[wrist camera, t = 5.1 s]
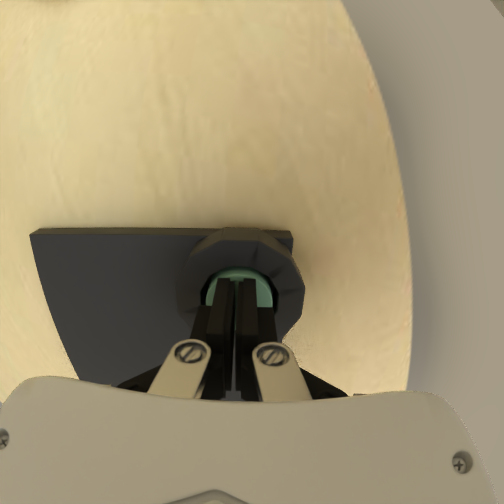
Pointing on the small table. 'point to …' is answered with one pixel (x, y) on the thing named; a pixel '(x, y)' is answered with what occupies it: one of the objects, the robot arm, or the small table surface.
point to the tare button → (238, 275)
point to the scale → (150, 290)
